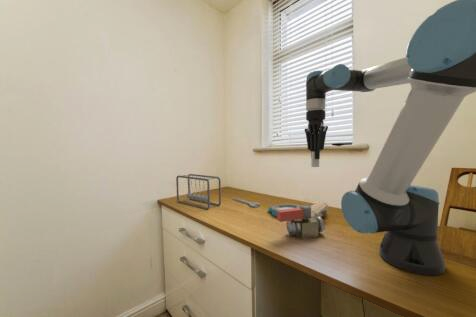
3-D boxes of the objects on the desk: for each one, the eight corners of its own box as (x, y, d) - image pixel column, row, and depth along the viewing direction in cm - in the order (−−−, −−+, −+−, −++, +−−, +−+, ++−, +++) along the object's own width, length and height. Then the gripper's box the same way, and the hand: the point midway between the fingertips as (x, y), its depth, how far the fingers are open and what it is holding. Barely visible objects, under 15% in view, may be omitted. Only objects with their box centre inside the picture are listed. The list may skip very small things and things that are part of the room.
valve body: (314, 229, 87) (315, 213, 86) (325, 235, 80) (325, 218, 80) (285, 232, 84) (285, 216, 83) (294, 239, 77) (294, 222, 77)
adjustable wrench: (232, 200, 139) (232, 197, 139) (240, 198, 143) (240, 196, 143) (253, 208, 118) (253, 205, 118) (262, 207, 121) (262, 204, 121)
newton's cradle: (176, 202, 134) (175, 175, 133) (189, 199, 142) (188, 173, 141) (208, 210, 115) (208, 179, 114) (221, 206, 123) (220, 176, 123)
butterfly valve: (257, 223, 102) (318, 230, 84) (255, 209, 102) (316, 214, 84) (281, 210, 123) (334, 213, 105) (279, 198, 123) (332, 200, 105)
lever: (306, 214, 84) (306, 205, 84) (313, 218, 80) (313, 208, 80) (275, 218, 80) (275, 208, 80) (281, 222, 76) (281, 212, 76)
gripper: (334, 108, 80) (333, 167, 81) (314, 113, 93) (313, 165, 94) (317, 107, 78) (316, 168, 80) (299, 113, 91) (299, 165, 92)
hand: (315, 166), depth 87 cm, fingers closed
